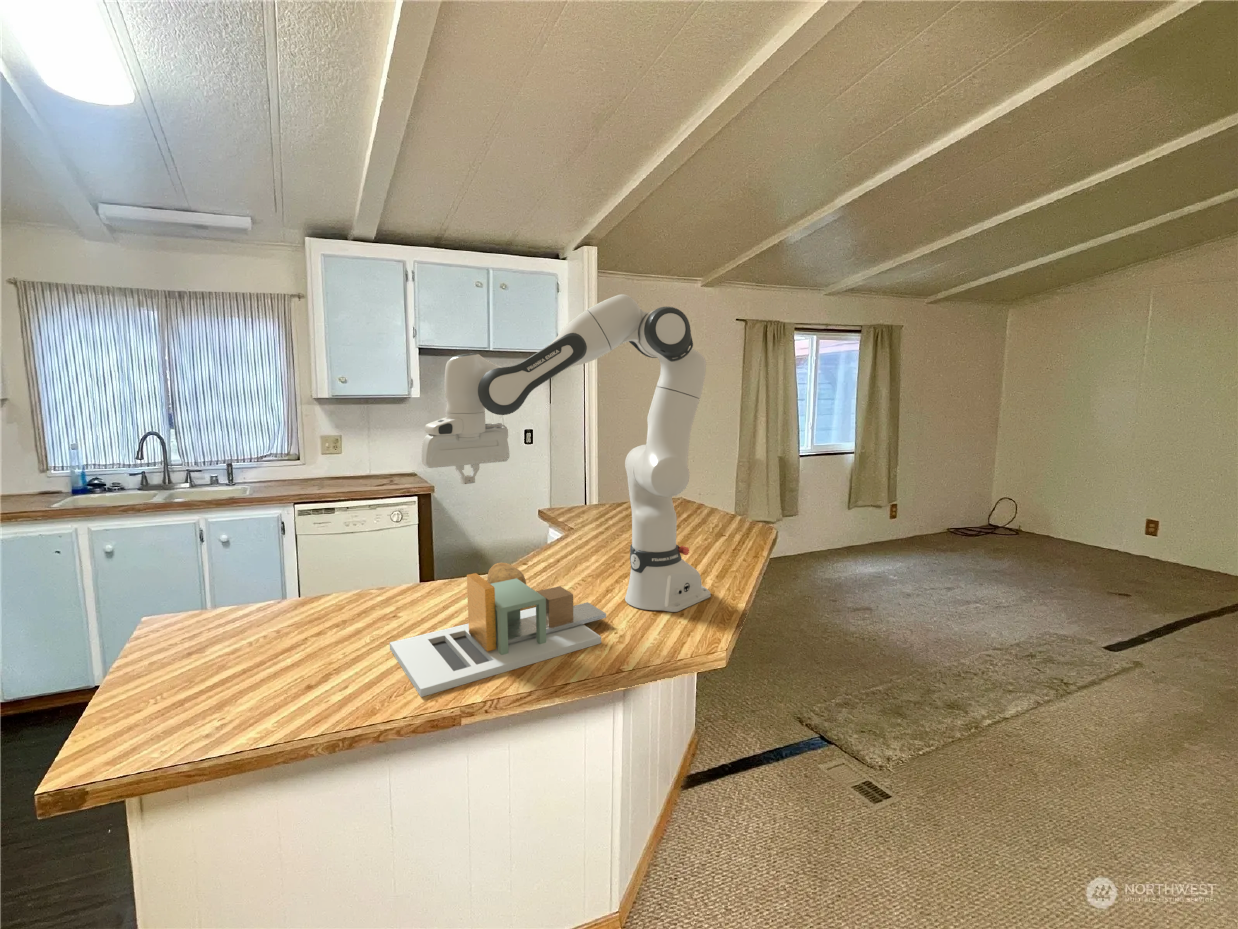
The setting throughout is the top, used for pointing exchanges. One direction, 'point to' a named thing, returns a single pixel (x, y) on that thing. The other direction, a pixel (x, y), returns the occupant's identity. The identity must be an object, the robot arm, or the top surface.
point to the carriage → (557, 618)
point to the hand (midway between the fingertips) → (468, 483)
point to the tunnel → (517, 609)
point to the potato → (504, 573)
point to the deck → (478, 655)
